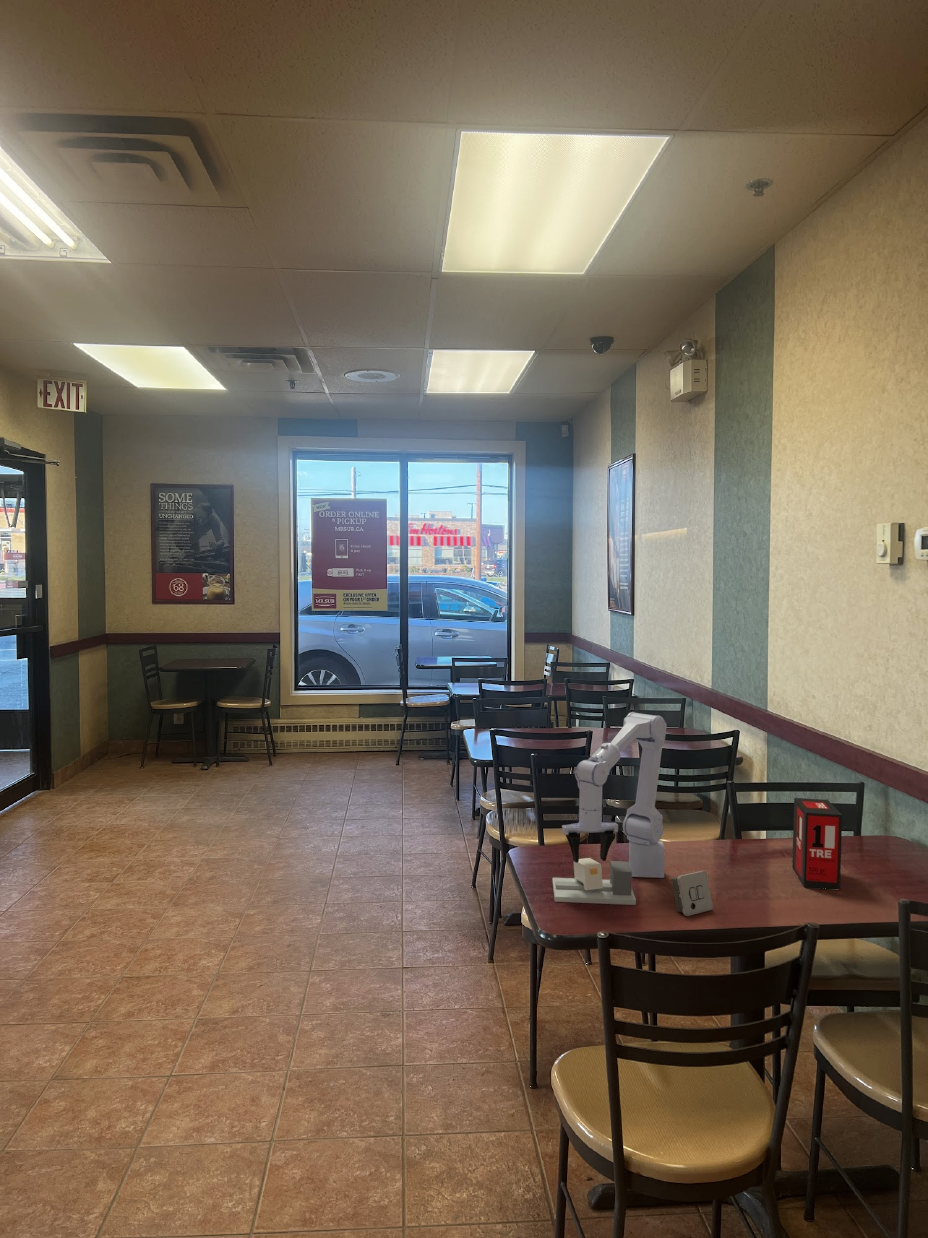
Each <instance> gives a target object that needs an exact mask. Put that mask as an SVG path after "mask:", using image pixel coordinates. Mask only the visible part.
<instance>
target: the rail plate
mask: <svg viewBox="0 0 928 1238" xmlns="http://www.w3.org/2000/svg"><path fill="white" fill-rule="evenodd" d="M632 881H633V877H632V871H631V868H630V866H629V861H626V860H625V861H622V860H621V861H620V860H617V861H616V860H610V861H609V879H602V883H603V888H600V889H592V890H585V889H584V883H582V882H575V877H573V878H572V877H552V880H551V883H552V888H553V889H552V890H553V898H554V899H553V900H554V902H556V903H558V902H559V903H577V904H579V903H581V904H582V903H583V904H604V905H605V904H606V905H607V904H609V905H630V906H637V899H636V896H635V894H634V890H633V888H632V887H633V886H632V884H633V883H632Z"/></svg>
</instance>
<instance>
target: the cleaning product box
mask: <svg viewBox="0 0 928 1238" xmlns="http://www.w3.org/2000/svg"><path fill="white" fill-rule="evenodd" d="M793 799H794V800H793V826H792V827H793V831H792V858H791V859H792V860H791V861H792V862H791V867H792V870H793V871H794V874H795V875H796V876H798V877H797V878H798V880H799V882H800V883H801V885H802V887H803V888H805V889H815V888H820V889H819V890H827V889H840V890H841V871H842V870H841V866H842V865H841V863H842V840H843V839H842V838H843V837H842V836H843V835H842V834H843V833H842V832H843V814H842V813H841V812H840V811H839V810H838V809H837V808H836V807H835V805H834V804H832V802H830V801H829V800H828V799H820V798H819V799H818V798H805V797H804V798H802V797H794V798H793ZM823 888H824V889H823ZM825 888H826V889H825Z"/></svg>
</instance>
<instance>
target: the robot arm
mask: <svg viewBox="0 0 928 1238" xmlns="http://www.w3.org/2000/svg"><path fill="white" fill-rule="evenodd" d="M622 726H623V727H622V728H621V729H620V730H619V732H618V733H617V734H616V735H615V736H614V738H613V739H612V740H610V742H604V743H602V744H601V745H600V746H599V748H598V749H597V750H596V751H594V753H592V755H590V757H589V758H587V759H584V760H582V761H580V762H579V763H578V764H577V766H576V768H575V771H574V776H575V777H574V778H575V779H576V781H577V787H578V789H579V800H578V801H579V802H578V803H579V804H578V805H579V806H578V808H579V809H578V822H577V823H571V824H563V825H561V833H562V834H563V835H565V838H566V840H567V842H568V845H569V848H570V850H571V855H572V860H573V861H572V862H573V863H574V862H576V863H578V862H579V859H580V856H579V855H580V843H581V838H580V837H579V835H578V834H588V833H589V834H590V833H598V834H599V840H600V841H599V842H600V843H599V844H600V847H599V848H600V849H599V850H600V851H599V858H600V860H601V861H603V862H606V861H607V857H608V854H609V850H610V848H611V846H612V844H613V842H614V841H615V839H616V833H618V832H619V824H618V823H616V822H602V819H603V818H602V815H603V785H604V784H605V783H606V782H607V780H608V776H609V775H610V774H609V773H610V771H611V769H612V768H613V767H614V766H615V765H616V764H617V762H618V761H619V760H621V752H622V751H623V750H624V749H626V748H627V747H628V746H629V745H630V744H631V743H632V742H634V740H635V741H636V742H638V744H639V745H640V747H641V749H642V750H641V754H640V755H641V757H640V764H639V773H638V781H637V787H636V795H635V803H634V804H633V805H632V806H630V807H629V808H627V809H626V815H625V818H624V819H623V822H622V830H623V833H624V835H625V836H626V839H627V840H628V841H629V842H628V843H629V844H628V864H629V866H630V868H631V871H632V878H634V877H635V878H654V879H655V878H656V879H657V878H660V879H664V878H665V845H664V842H663V841H660V840H661V839H662V837H663V834H664V827H663V815H662V814H661V813H660V812H659V810H658V809H657V808H656V799H657V798H656V797H657V789H658V784H659V782H658V781H659V775H660V768H661V767H660V766H661V759H662V758H661V757H662V750H663V746H665V741H666V733H667V727H668V725H667V722H666V721H665V719H664V718H663V716H661V715H653V714H645V713H641V712H640V713H639V712H636V711H632V712H629V713H628V714H627V715H626V717H624V718H623V725H622Z"/></svg>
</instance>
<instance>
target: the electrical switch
mask: <svg viewBox="0 0 928 1238" xmlns="http://www.w3.org/2000/svg"><path fill="white" fill-rule="evenodd" d="M671 885H672V891H673V895H674V901H675V906H676V912H677V913H682V914H683V916H685V917H691V916H694V915H697V914H701V913H705V912H709V911H712V910H713V908H714V906H713V900H712V894H711V890H710V889H711V888H710V884H709V880H708V873H707V872H706V871H705V870H700V871H695V872H691V873H685V874H681V875H678V876H677V877H673V878H671Z"/></svg>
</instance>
